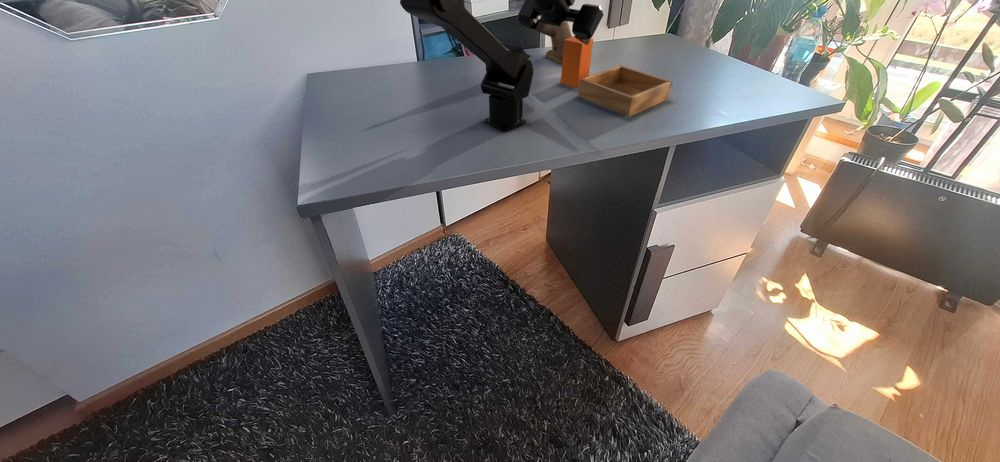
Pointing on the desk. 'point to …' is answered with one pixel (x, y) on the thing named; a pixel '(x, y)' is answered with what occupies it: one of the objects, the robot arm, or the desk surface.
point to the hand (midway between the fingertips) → (571, 39)
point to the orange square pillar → (575, 61)
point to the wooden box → (624, 90)
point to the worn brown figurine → (559, 42)
